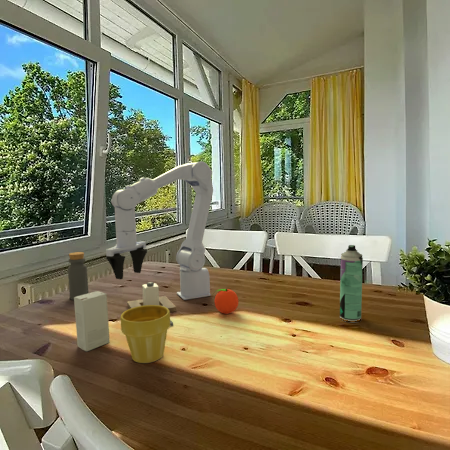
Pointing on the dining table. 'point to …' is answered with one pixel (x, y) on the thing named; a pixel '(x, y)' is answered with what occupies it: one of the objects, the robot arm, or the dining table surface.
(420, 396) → the dining table surface
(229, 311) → the clementine
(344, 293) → the spray can
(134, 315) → the plant pot
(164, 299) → the holder
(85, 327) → the skincare box
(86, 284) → the bottle
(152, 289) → the plug
